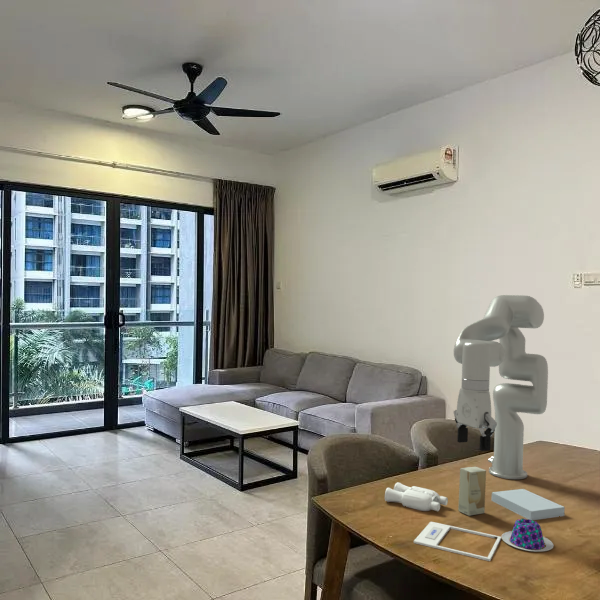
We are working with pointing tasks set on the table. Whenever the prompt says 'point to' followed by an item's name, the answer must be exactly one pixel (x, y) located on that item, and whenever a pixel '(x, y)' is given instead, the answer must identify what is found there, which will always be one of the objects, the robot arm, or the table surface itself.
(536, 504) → the pale blue flat board
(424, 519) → the table surface
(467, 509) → the skincare box
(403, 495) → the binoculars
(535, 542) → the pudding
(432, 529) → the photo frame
